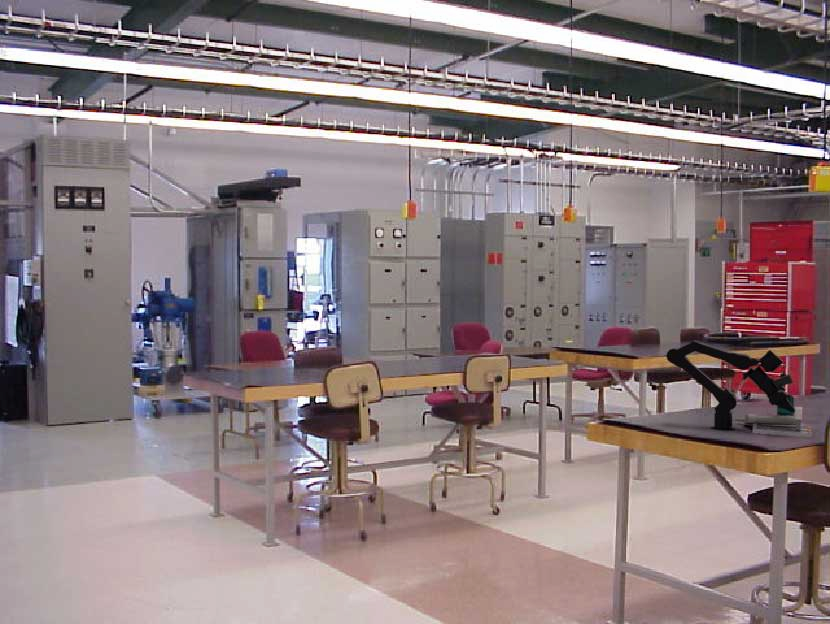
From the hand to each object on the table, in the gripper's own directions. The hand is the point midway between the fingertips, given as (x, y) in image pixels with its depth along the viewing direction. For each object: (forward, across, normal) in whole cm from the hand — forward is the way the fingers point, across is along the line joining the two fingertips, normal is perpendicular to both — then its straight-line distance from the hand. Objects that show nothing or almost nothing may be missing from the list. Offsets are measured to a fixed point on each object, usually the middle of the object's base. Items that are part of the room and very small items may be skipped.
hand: (794, 411), depth 317 cm
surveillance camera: (+5, +29, +8) cm, 30 cm away
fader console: (+3, 0, +9) cm, 9 cm away
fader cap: (+6, 0, +4) cm, 7 cm away
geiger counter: (-3, +17, +13) cm, 22 cm away
